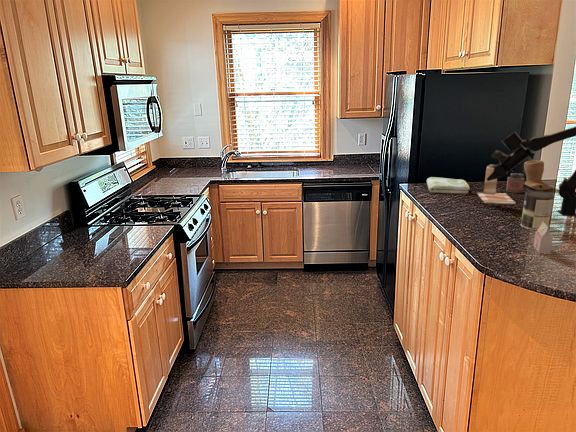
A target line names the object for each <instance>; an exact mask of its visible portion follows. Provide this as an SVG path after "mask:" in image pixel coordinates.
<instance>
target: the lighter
mask: <svg viewBox="0 0 576 432" xmlns="http://www.w3.org/2000/svg"><path fill="white" fill-rule="evenodd" d="M524 174H525V173H524ZM524 174H523V173H517V172H515V173H510V176H507V181H506V189H505V192H506V193H507V192H508V193H515V194H517V193H518V194H521V193H523V190H524V189H523V188H524V184H525V183H524V182H525V178H524Z"/></svg>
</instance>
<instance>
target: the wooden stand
mask: <svg viewBox="0 0 576 432" xmlns="http://www.w3.org/2000/svg"><path fill="white" fill-rule="evenodd" d="M523 170H524V174H525V176H526V180H525V181H524V183H523V184H524V185H526V187H529V188H530V189H533V190H535V191H545V190H546V191H547V190H550V189H551V188H552V187H551V186H550V185H549V184H547V183H545V182H543V181H542V178H543V174H544V171H545V163H544V161H543V160H537V159H536V160H527V161H525V162H524V163H523Z"/></svg>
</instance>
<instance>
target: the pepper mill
mask: <svg viewBox="0 0 576 432" xmlns="http://www.w3.org/2000/svg"><path fill="white" fill-rule="evenodd" d="M496 165H497V164H492V163H491V164H489V165H487V166H486V168H485V178H484V185H483V186H484V187H483V192H482V193H483V194H487V195H495V193H497V186H498V185H497V184H498V178H497V179H493V180H490V181H487V178H488V177H489V176H490V175H491V174H492V173H493V172H494V167H495V166H496Z"/></svg>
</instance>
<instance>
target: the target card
mask: <svg viewBox="0 0 576 432" xmlns="http://www.w3.org/2000/svg"><path fill="white" fill-rule="evenodd" d="M483 193H484V192H477V193H476V194H477V195H478V197H479V198H480V199H481V200H482V201H483V203H484V204H495V205H496V204H497V205H500V204H501V205H516V204H517V203H516V201H515V200H513V199H512V197H510V196H509V195H508V194H507V193H505V192H504V193H501V192H496V193H495V195H487V194H483Z"/></svg>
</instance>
